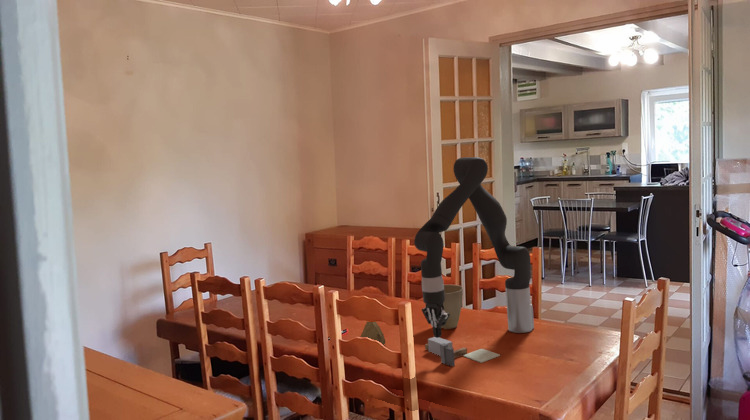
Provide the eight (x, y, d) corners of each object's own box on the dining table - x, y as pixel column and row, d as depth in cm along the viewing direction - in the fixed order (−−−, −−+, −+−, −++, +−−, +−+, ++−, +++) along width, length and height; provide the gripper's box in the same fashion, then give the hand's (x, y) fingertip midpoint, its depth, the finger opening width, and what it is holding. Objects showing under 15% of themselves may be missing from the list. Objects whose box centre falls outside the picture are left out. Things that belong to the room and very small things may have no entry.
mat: (481, 349, 205) (481, 348, 205) (500, 355, 197) (499, 354, 197) (463, 356, 200) (463, 355, 200) (481, 362, 192) (481, 361, 192)
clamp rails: (440, 344, 214) (440, 339, 214) (467, 353, 202) (466, 348, 202) (425, 349, 210) (424, 344, 210) (451, 359, 198) (450, 354, 198)
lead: (437, 349, 210) (436, 336, 209) (453, 355, 202) (452, 341, 202) (428, 352, 208) (427, 339, 207) (444, 358, 200) (443, 344, 200)
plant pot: (440, 319, 245) (437, 283, 244) (472, 323, 237) (469, 285, 235) (423, 329, 233) (419, 292, 232) (455, 333, 225) (452, 294, 223)
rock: (393, 339, 218) (383, 329, 227) (380, 325, 215) (370, 315, 224) (373, 359, 217) (363, 348, 226) (359, 346, 213) (350, 335, 222)
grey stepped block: (445, 361, 197) (444, 343, 196) (455, 365, 192) (454, 346, 192) (441, 363, 195) (439, 344, 195) (451, 367, 191) (449, 348, 190)
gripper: (453, 288, 192) (458, 338, 194) (429, 283, 203) (434, 330, 205) (436, 293, 188) (441, 344, 190) (412, 288, 199) (417, 335, 201)
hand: (437, 336), depth 197 cm, fingers closed
